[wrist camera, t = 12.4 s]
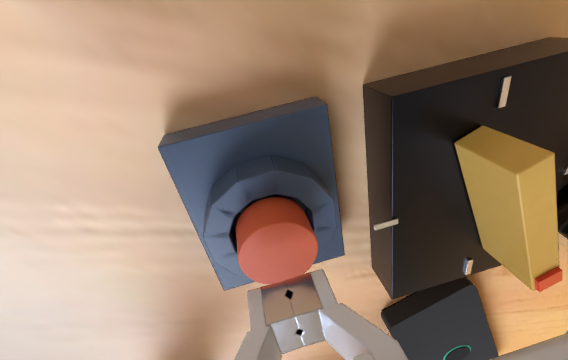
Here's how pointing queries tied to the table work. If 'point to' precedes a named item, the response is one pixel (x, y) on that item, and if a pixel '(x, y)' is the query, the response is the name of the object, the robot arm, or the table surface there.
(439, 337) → the smart home device
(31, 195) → the table surface
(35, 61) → the table surface
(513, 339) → the table surface
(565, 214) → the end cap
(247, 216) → the button
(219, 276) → the button box
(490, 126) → the rotary switch
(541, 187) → the rotary switch knob
